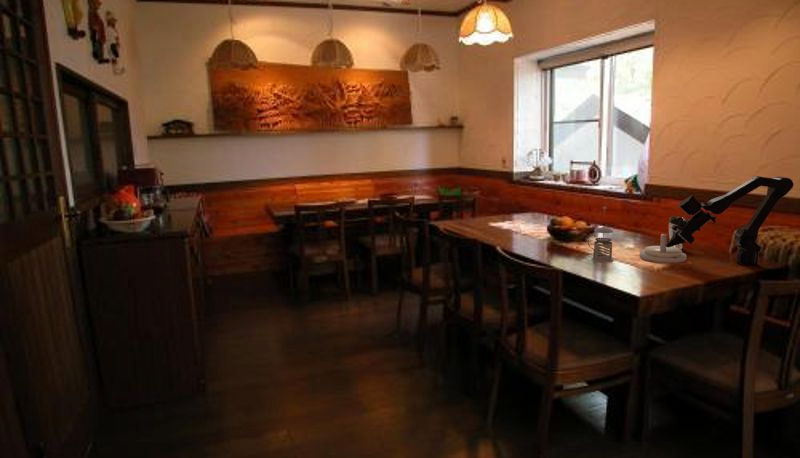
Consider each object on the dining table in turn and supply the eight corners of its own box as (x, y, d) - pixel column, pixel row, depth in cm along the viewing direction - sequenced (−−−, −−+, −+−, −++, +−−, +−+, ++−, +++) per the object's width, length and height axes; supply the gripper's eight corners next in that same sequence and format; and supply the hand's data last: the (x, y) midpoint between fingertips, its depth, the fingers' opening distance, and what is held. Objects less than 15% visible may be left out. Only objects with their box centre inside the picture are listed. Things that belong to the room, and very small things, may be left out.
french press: (616, 262, 220) (618, 207, 215) (589, 262, 222) (590, 208, 218) (611, 257, 229) (613, 204, 225) (585, 257, 232) (587, 205, 227)
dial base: (630, 254, 232) (631, 250, 232) (667, 252, 235) (667, 247, 235) (657, 264, 214) (657, 259, 214) (696, 261, 217) (696, 256, 216)
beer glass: (686, 249, 239) (688, 219, 236) (671, 249, 239) (673, 219, 236) (678, 246, 246) (680, 216, 243) (664, 246, 246) (666, 217, 243)
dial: (644, 248, 234) (646, 228, 232) (680, 251, 227) (682, 230, 225) (643, 255, 221) (645, 234, 219) (681, 258, 214) (683, 236, 212)
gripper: (677, 207, 222) (649, 230, 227) (687, 212, 204) (656, 237, 209) (696, 224, 220) (667, 247, 225) (707, 230, 203) (676, 256, 208)
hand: (666, 246), depth 217 cm, fingers closed, pressing on dial
